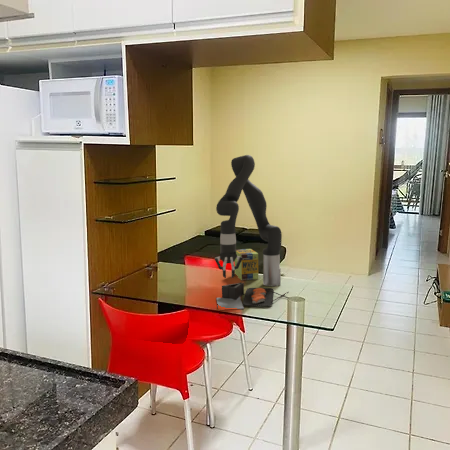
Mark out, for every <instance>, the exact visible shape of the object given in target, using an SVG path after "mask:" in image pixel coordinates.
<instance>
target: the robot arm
mask: <svg viewBox="0 0 450 450" xmlns="http://www.w3.org/2000/svg"><path fill="white" fill-rule="evenodd" d="M255 165H256V162H255V159H254V158H253V156H252V155H251V154H246V155H241V156H237V157H234V158H232V160H231V162H230V167H231V170H232V172H233V173H234V176H235V177H234V179H232V180H231V181H230V183H229V185H228V186H227V188H226V191H225V193H224V195H222V197H221V198H220V199H219V200H218V202H217V204H216V206H215V207H216V208H215V211H216V213H217V214H218V215H219V216H224V217H225V216H227V217H229V218H228V219H227V220H223V221H221V222H220V238H219V239H220V241H219V242H220V243H219V245H220V246H219V247H220V248H219V249H220V254H219V256H216V257H214V261H215V263H216V265H217V267H218V269H219V270H222V276H223V278H224V279H226V278H227V270H226V267H227V264H230V265H231V266H230V267H231V279H232V278H234V277H235V276H236V275H235V269H238V268H239V265H240V263H241V261H242V257H241V256H237V254H236V250H237V236H236V222H237V217H238V214H239V210H240V206H239V204H238V201H239V200H240V197H241V194H242V191H243V194H244V196H245V199H246V201H247V204H248V206H249V209H250V210H251V214H252V216H253V217H254V221H255V224H256V226H257V227H256V228H257V229H258V233H259V236H260V238H261V240H263V241H265V242H267V247H264V248H263V249H262V283H263V284H262V285H263V286H267V287H278V286H281V276H282V275H281V273H282V271H281V266H280V262H281V259H280V256H281V254H280V253H281V249H282V230H281V228H280V227H279V226H277V225H271V224H270V222H269V220H268V217H267V201H266V198H265V196H264V194H263V191H262V190H261V189H260V188H259V187H257V186H256V185H255V184H254V183H253V182H251V181H250V177H251V176H252V173H253V172H254V170H255V167H256V166H255ZM236 258H237V260H238V262H237V264H236V266H235V259H236ZM220 260H221V261H222V266H221V263H220V262H221V261H220Z"/></svg>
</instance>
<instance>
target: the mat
mask: <svg viewBox="0 0 450 450" xmlns="http://www.w3.org/2000/svg"><path fill="white" fill-rule="evenodd" d="M215 299H216V305H217V304H218V305H219V306H221V307H225V308H237V309H240V310H244V308H245V306H244V305H243V300H242V299H241V296H240V297H239V298H238V299H236V300H235V299H229V298H222V297H216V298H215ZM218 305H217V306H218Z"/></svg>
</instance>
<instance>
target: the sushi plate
mask: <svg viewBox="0 0 450 450" xmlns="http://www.w3.org/2000/svg"><path fill="white" fill-rule="evenodd" d="M286 293H287V294H289V291H286V292H285V293H283V294H280V293H277V292H275V290H274V288H271V287H247V288H246V289H245V292H244V295H243V296H244V298H243V300H242V304H243V306H244V307H245V306H246V307H271V306H273V304H274V301H276V300H279V299H280V298H282V297H283V298H286V299H288V298H289V297H288V296H286V295H287V294H286ZM274 294H276V295H278V296H279V297H277V298H274ZM285 294H286V295H285Z"/></svg>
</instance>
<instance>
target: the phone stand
mask: <svg viewBox="0 0 450 450" xmlns="http://www.w3.org/2000/svg"><path fill="white" fill-rule="evenodd" d="M242 296H245V284H244V282H237V283H232V284H231V283H230V284H225V285H221V298H229V299H235V300H236V299H238V298H239V297H240V298H241V297H242Z"/></svg>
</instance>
